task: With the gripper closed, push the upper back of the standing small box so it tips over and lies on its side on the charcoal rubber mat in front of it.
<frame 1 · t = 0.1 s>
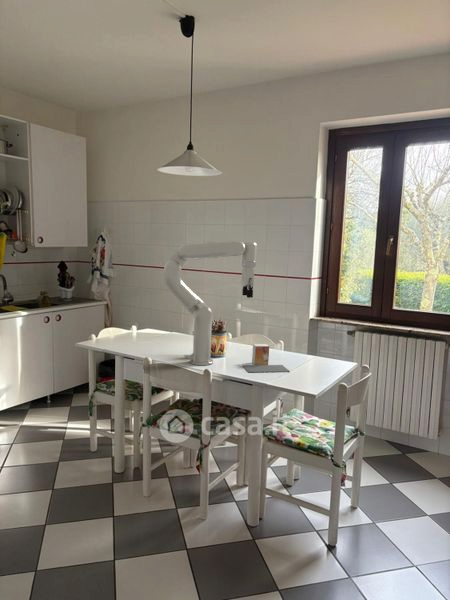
hand: (247, 296, 244), 37 cm above the table, tool pointing down, fingers open, 9 cm apart
mat: (265, 369, 235), on the table
small box: (260, 364, 246), on the table
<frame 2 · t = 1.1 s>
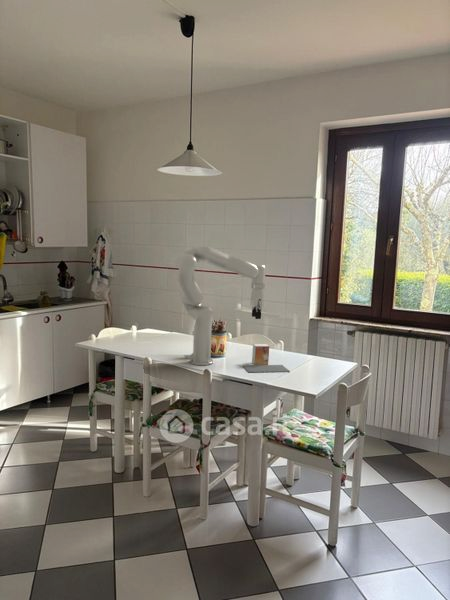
hand: (256, 317, 255), 24 cm above the table, tool pointing down, fingers open, 6 cm apart
nothing on the table moved.
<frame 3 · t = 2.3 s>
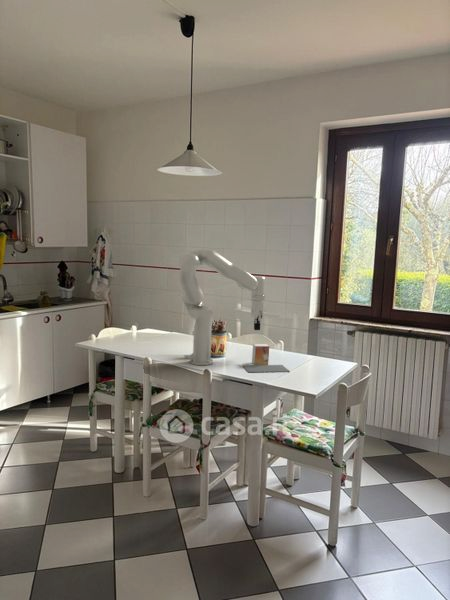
hand: (257, 329, 255), 17 cm above the table, tool pointing down, fingers closed
nothing on the table moved.
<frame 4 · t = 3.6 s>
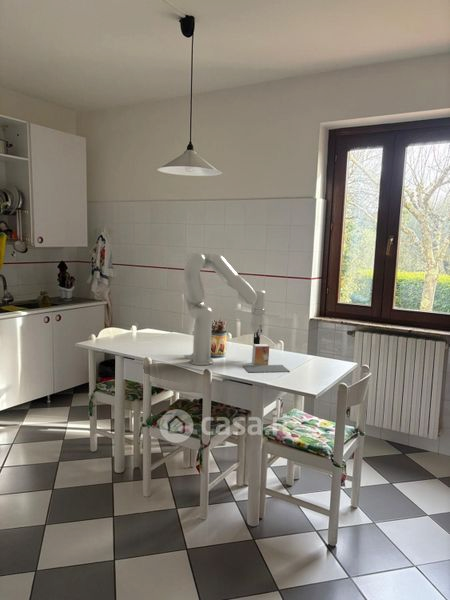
hand: (256, 343, 253), 9 cm above the table, tool pointing down, fingers closed
nothing on the table moved.
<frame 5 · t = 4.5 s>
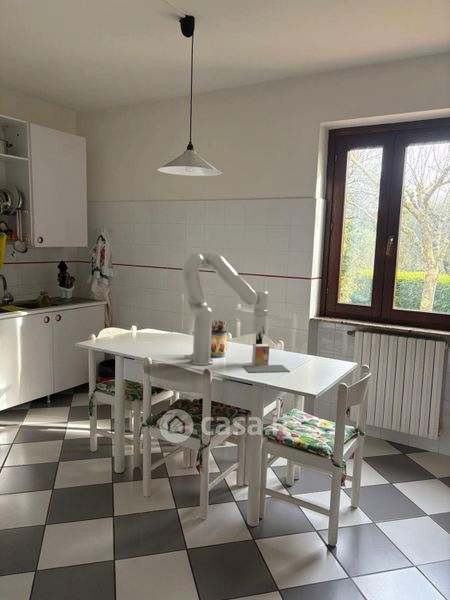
hand: (258, 345, 249), 9 cm above the table, tool pointing down, fingers closed
small box: (260, 363, 246), on the table, touching gripper
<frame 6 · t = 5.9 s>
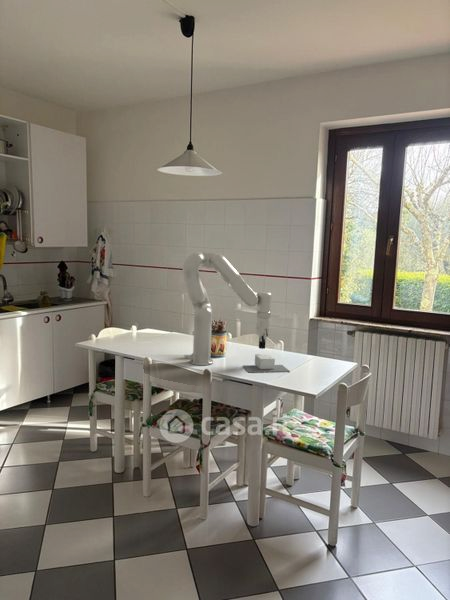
hand: (261, 348, 243), 9 cm above the table, tool pointing down, fingers closed
small box: (261, 358, 243), point 3 cm above the table, touching mat
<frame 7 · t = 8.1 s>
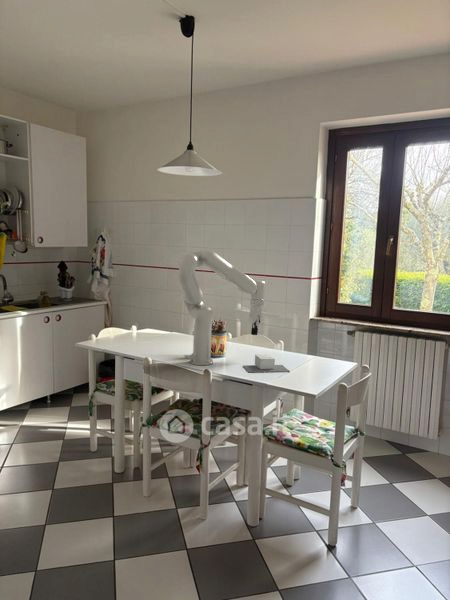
hand: (254, 334, 252), 14 cm above the table, tool pointing down, fingers closed
nothing on the table moved.
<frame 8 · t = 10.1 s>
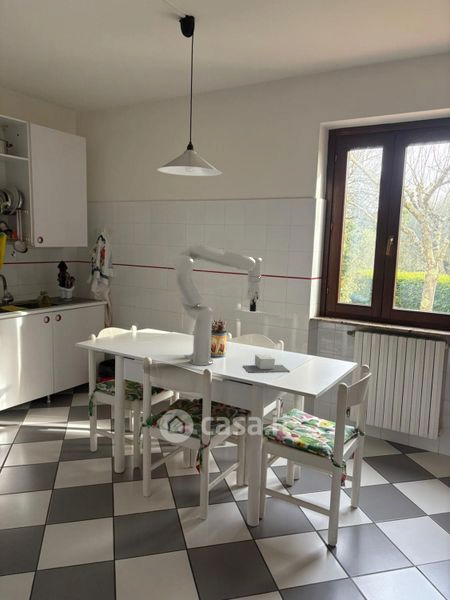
hand: (252, 311, 255), 27 cm above the table, tool pointing down, fingers closed
nothing on the table moved.
at the end: small box tilted 90°; small box touching mat; small box inside the target area (1.1 cm from its centre), point 3.3 cm above the table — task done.
